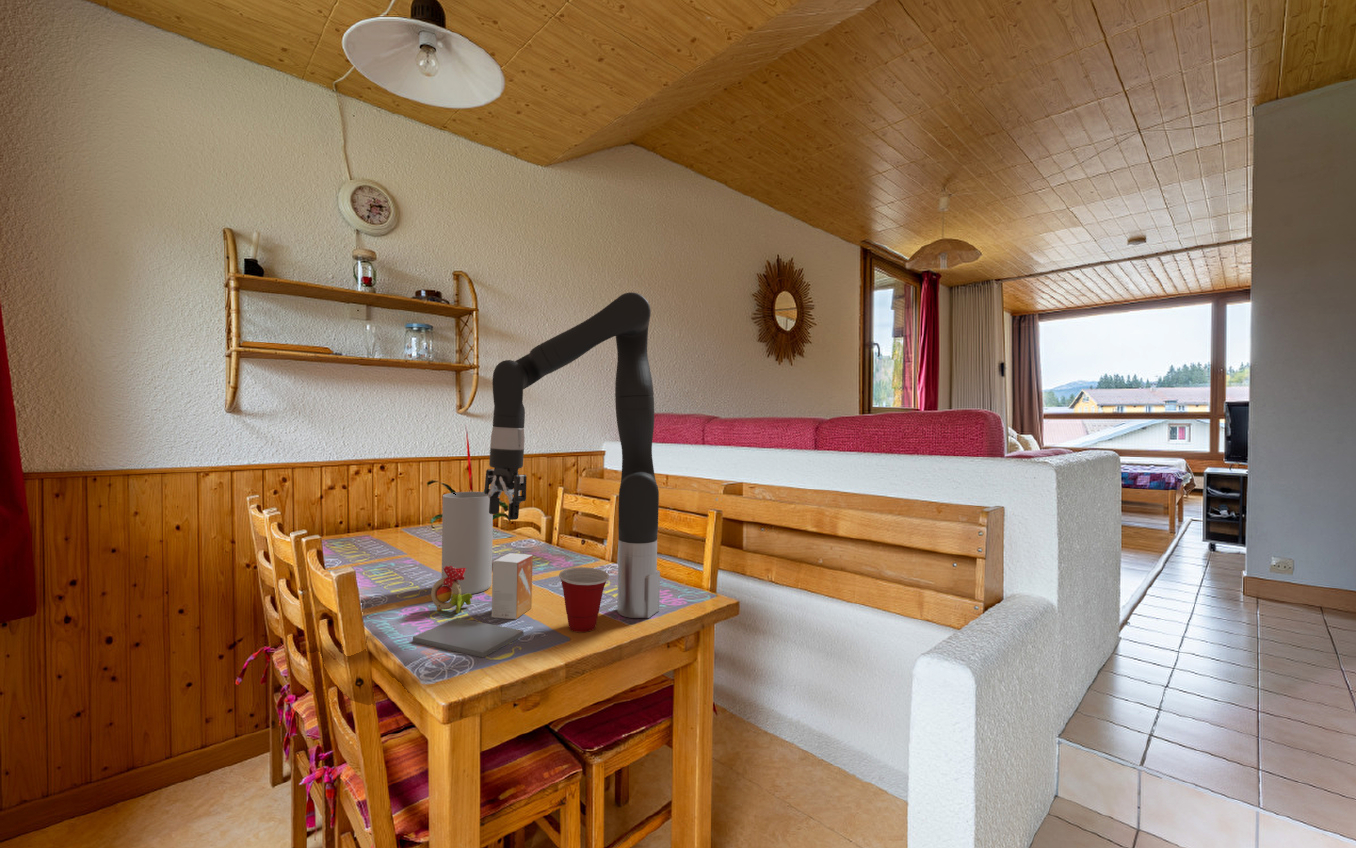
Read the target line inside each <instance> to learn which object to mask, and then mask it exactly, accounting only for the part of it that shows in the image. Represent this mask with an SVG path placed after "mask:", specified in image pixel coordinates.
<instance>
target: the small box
mask: <svg viewBox="0 0 1356 848" xmlns="http://www.w3.org/2000/svg"><path fill="white" fill-rule="evenodd" d="M533 557H534V556H533V554H524V553H513V552H509V553H507V554H505V555H502V556H500V557H498V558H496V559H494V560H492V584H491V587H492V588H491V597H492V598H491V618H495V619H508V620H517V619H518V618H519V617H521V616H523V615H524V614H526V613H527V612H528V611H530V610H531V609H532V603H533V601H532V600H533V599H532V597H533Z"/></svg>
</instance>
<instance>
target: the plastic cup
mask: <svg viewBox="0 0 1356 848" xmlns="http://www.w3.org/2000/svg"><path fill="white" fill-rule="evenodd" d="M558 578H559V579H560V582H561V586H562V590H563V599H564V605H565V614H566V617H567V623H568V628H569V630H570V631H572V632H574V633H587V632H591V631H594V630H595V629H596V626H597V621H598V617H599V613H600V609H601V608H600V607H601V603H602V598H603V593H604V590H605V587H606V583H607V581H608V580H609V578H610V575H609V573H608V572H606V571H604V570H601V569H599V568H593V567H583V566H581V567H570V568H565V569H563V570H561V571H560V572H559V574H558Z"/></svg>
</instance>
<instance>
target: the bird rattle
mask: <svg viewBox="0 0 1356 848" xmlns="http://www.w3.org/2000/svg"><path fill="white" fill-rule="evenodd" d="M443 569H444V571H445V573H446V575H447V576H448V577H446V578H442V577H441V578H440V579H438V580H437V581H436V582H434V584H433V586H432V587H431V592H430V594H431V595H430V596H431V600H432V601H431V602H432V603H433V604H434V606H435V607H436V610H437V611H438V612H440V611H443V610H449V609H451V608H453V607H455V613H456V614H459V613H460V611H461V608H462V607H463V606H464V604H466V605H467V606H469V605H471V604H472V603H471V600H472V599H473V594H469V593H467V594H464V595H461V587H460V585H459V583H458V581H457V580H464V575H463V574H464V573H465V571H466V568H459V569H457V568H454V567H452V566H449V567H448V566H445V567H444V568H443ZM442 585H448V586H442ZM450 587H451V588H452V589H453V590H452V589H451V588H450ZM452 591H454V593H453V592H452Z"/></svg>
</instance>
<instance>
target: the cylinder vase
mask: <svg viewBox="0 0 1356 848" xmlns="http://www.w3.org/2000/svg"><path fill="white" fill-rule="evenodd" d="M453 493H455V494H456V495H455V494H453ZM489 503H490V498H489V497H488V494H485V493H484V491H458V492H449V493H444V494H443V495H442V515H441V516H442V517H441V518H442V521H441V522H442V523H441V524H442V529H441V530H442V531H441V534H442V535H441V579H442V578H446V577H448V576H447V575H446V573H445V571H444V569H443V568H444V567H445V566H448V567H449V566H452V567H454V568H457V569H459V568H466V571H465V573H464V574H463V575H464V580H457V581H458V583H459V585H460V587H461V595H464V594H467V593H469V594H471V595H473V594H475V595H476V594H478V593H482V592H484V591H487V590H488V589H489V588H491V587H492V575H493V525H494V524H493V523H494V522H493V518H494V517H493V516H494V514H490V513H489ZM442 586H448V585H442ZM450 588H451V587H450ZM451 589H452V588H451ZM452 590H453V589H452ZM452 592H453V593H454V591H452Z"/></svg>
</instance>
